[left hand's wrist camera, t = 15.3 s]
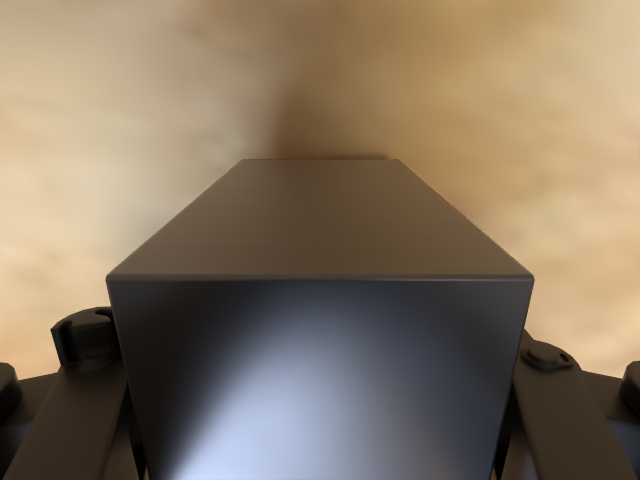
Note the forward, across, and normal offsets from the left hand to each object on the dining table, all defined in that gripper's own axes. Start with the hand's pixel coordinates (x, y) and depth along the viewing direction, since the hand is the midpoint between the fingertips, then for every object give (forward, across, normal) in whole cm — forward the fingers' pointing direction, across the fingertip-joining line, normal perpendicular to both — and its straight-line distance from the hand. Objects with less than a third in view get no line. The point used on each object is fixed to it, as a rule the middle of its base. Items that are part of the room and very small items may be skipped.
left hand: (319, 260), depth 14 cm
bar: (+1, 0, -9) cm, 9 cm away
